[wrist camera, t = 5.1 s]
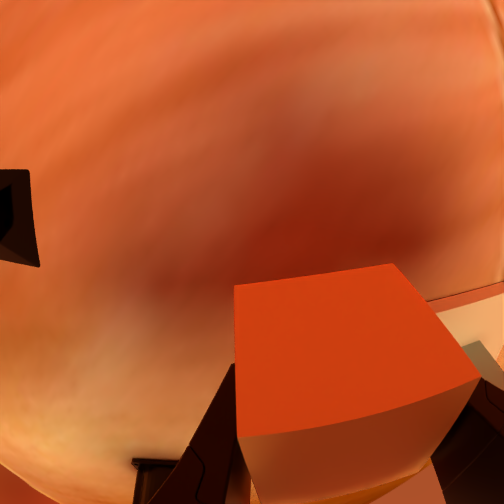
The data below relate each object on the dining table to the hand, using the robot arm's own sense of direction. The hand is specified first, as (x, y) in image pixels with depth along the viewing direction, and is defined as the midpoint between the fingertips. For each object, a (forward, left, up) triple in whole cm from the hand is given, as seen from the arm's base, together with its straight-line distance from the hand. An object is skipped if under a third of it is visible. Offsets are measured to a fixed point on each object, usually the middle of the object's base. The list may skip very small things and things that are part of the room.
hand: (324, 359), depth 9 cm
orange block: (0, 0, -1) cm, 1 cm away
